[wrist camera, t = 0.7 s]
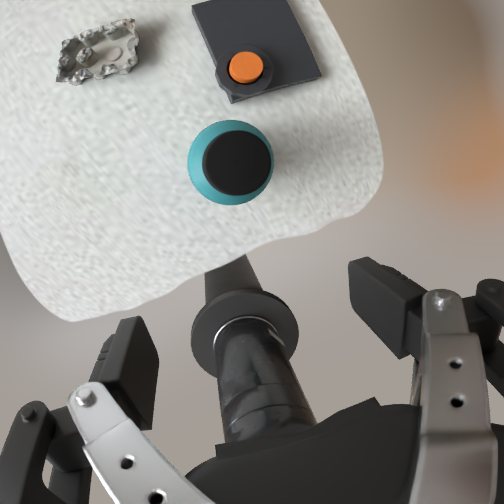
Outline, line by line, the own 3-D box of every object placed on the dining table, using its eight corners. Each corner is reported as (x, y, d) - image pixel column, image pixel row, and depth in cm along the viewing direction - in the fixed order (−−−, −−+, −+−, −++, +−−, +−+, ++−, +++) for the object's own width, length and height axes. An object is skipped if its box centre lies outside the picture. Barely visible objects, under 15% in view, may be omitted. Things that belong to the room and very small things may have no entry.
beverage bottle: (223, 125, 34) (248, 83, 15) (256, 167, 36) (316, 173, 17) (181, 159, 34) (155, 152, 15) (215, 200, 36) (229, 241, 17)
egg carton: (143, 28, 28) (137, 15, 24) (138, 77, 30) (131, 68, 26) (70, 42, 26) (59, 32, 22) (63, 90, 28) (50, 83, 24)
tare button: (264, 78, 30) (268, 74, 28) (235, 87, 30) (237, 83, 28) (253, 53, 28) (256, 47, 27) (224, 61, 28) (225, 56, 27)
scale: (317, 81, 33) (327, 74, 30) (225, 107, 33) (228, 101, 30) (275, -8, 28) (281, -19, 25) (186, 13, 28) (185, 1, 25)
